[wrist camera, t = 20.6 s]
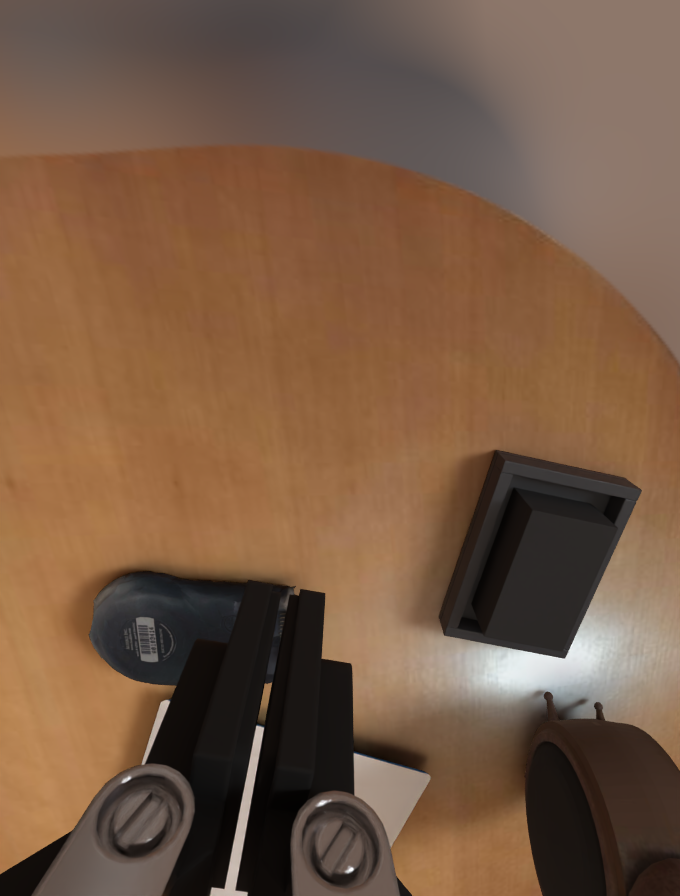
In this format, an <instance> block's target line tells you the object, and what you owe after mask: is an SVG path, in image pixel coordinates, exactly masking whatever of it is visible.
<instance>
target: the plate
mask: <svg viewBox="0 0 680 896" xmlns="http://www.w3.org/2000/svg"><path fill="white" fill-rule="evenodd" d="M170 701H171V699H169V700H164V701H162V702H161V704H160V707H159V710H158V713H157V716H156V720H155V723H154V726H153V729H152V732H151V735H150V739H149V742H148V745H147V748H146V751H145V755H144V758H143V761H142V764H141V765H145V762H146V760H147V757H148V755H149V752H150V750H151V747H152V745H153V743H154V740H155V738H156V735H157V733H158V730H159V728H160V725H161V723H162V720H163V718H164V715H165V713H166V711H167V708H168V706H169V703H170ZM263 731H264V726H263V725H260V724H257V725H256V731H255V736H254V741H253V746H252V751H251V756H250V761H249V766H248V772H247V777H246V782H245V787H244V792H243V797H242V802H241V807H240V813H239V818H238V823H237V828H236V833H235V838H234V843H233V848H232V854H231V859H230V864H229V869H228V874H227V879H226V884H225V889H220V888H212V889H211V893H210V896H247V894H248V892H242V891H235V889H236V883H237V877H238V872H239V866H240V861H241V855H242V849H243V844H244V838H245V832H246V827H247V821H248V816H249V810H250V804H251V799H252V793H253V787H254V782H255V776H256V771H257V765H258V759H259V754H260V748H261V742H262V737H263ZM430 779H431V777H430V775H429V774H428V773H426V772H424V771H422V770H418V769H415V768H411V767H408V766H404V765H401V764H397V763H394V762H390V761H386V760H383V759H379V758H376V757H372V756H369V755H365V754H362V753H358V752H355V751H354V794H355V796H356V797H358V798H360V799H362V800H363V801H364V802H366V803H367V804H368V805H369V806H370V807H371V808H372V809H373V810H374V811H375V812H376V814H377V815H378V817H379V818H380V820H381V821H382V823H383V825H384V828H385V831H386V834H387V837H388V840H389V844H390V848H391V847H392V845H393V843H394V841H395V840H396V838H397V836H398V834H399V833H400V831H401V829H402V828H403V826H404V824H405V822H406V821H407V819H408V817H409V815H410V814H411V812H412V810H413V809H414V807H415V805H416V803H417V802H418V800H419V798H420V796H421V795H422V793H423V791H424V790H425V788H426V786H427V784H428V783H429V781H430Z"/></svg>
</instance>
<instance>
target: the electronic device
mask: <svg viewBox="0 0 680 896" xmlns="http://www.w3.org/2000/svg"><path fill="white" fill-rule="evenodd" d="M246 585H247V583H232V582H225V581H223V582H213V581H208V580H189V579H180V578H178V577H175V576H172V575H168V574H164V573H154V572H151V571H143V572H135V573H130V574H127V575H124V576H122V577H120V578H117V579H116V580H114V581H112V582H111V583H109V584H108V585H107V586H105V587H104V588H103V589H102V590H101V591H100V592H99V594H98V595H97V597H96V598H95V599H94V614H93V621H92V627H91V631H90V633H89V637H90V640H91V642H92V644H93V647H94V648H95V650H96V651H97V652H98V654H99V655H100V657H101V658H103V659H104V660H105V661H106V662H107V663H108V664H109V665H110V666H111V667H112V668H113V669H115V670H116V671H118V672H119V673H121V674H123V675H124V676H126V677H128V678H130V679H133V680H135V681H140V682H144V683H150V684H158V685H175V686H177V683H178V681H179V679H180V676H181V674H182V671H183V669H184V666H185V664H186V661H187V659H188V656H189V654H190V651H191V649H192V647H193V644H194V642H195V641H196V639H197V638H199V639H205V640H211V641H217V642H223V643H228V642H229V639H230V636H231V632H232V629H233V626H234V623H235V620H236V617H237V613H238V610H239V607H240V604H241V601H242V597H243V594H244V591H245V588H246ZM295 587H296V586H294V587H290V586H283V585H273V589H272V591H274V592H280V593H281V599H280V604H279V609H278V615H277V620H276V625H275V631H274V636H273V641H272V647H271V652H270V657H269V663H268V668H267V673H266V679H265V683H266V684H268V683H272V682H273V677H274V672H275V666H276V661H277V656H278V651H279V646H280V641H281V636H282V630H283V625H284V620H285V615H286V610H287V605H288V600H289V595H290V594H291V595H294V588H295Z"/></svg>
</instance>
